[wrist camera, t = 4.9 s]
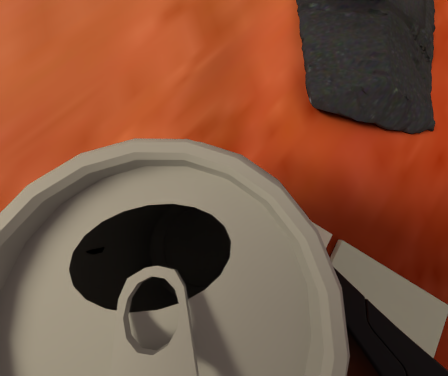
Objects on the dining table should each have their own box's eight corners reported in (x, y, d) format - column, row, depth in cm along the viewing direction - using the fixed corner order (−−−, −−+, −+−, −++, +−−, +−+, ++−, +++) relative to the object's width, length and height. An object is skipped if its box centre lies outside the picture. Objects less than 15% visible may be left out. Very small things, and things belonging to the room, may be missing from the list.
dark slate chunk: (273, 119, 17) (295, 80, 13) (293, -51, 22) (314, -127, 17) (433, 146, 17) (512, 117, 13) (421, -28, 22) (477, -97, 17)
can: (241, 189, 15) (327, 75, 4) (259, 286, 14) (498, 628, 2) (149, 204, 15) (-115, 125, 3) (158, 306, 13) (-263, 913, 2)
